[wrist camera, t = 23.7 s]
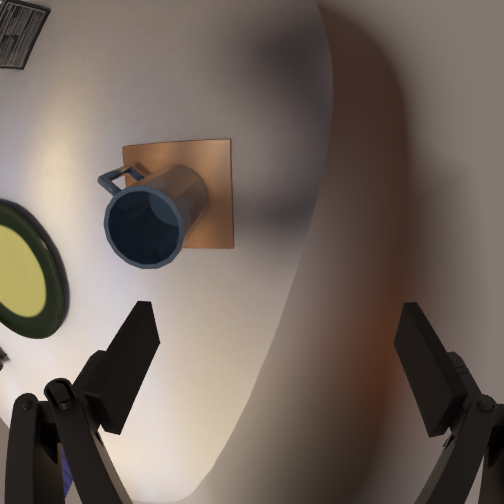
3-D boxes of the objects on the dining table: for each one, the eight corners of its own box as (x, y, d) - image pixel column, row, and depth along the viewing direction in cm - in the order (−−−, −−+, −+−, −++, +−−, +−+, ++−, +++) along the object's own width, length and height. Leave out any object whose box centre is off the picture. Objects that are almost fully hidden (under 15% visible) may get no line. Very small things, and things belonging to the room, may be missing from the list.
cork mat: (230, 138, 37) (230, 139, 37) (234, 246, 43) (233, 248, 42) (124, 146, 38) (122, 146, 37) (136, 245, 44) (133, 247, 43)
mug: (222, 193, 39) (201, 225, 28) (183, 240, 42) (153, 284, 31) (153, 137, 37) (107, 147, 26) (118, 186, 40) (69, 213, 29)
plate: (-38, 266, 49) (-45, 271, 46) (-10, 165, 40) (-20, 168, 37) (45, 353, 55) (39, 361, 53) (94, 274, 46) (87, 282, 44)
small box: (28, 3, 28) (-15, -8, 19) (52, 8, 29) (8, -5, 20) (2, 62, 32) (-43, 61, 23) (23, 70, 33) (-24, 70, 24)
